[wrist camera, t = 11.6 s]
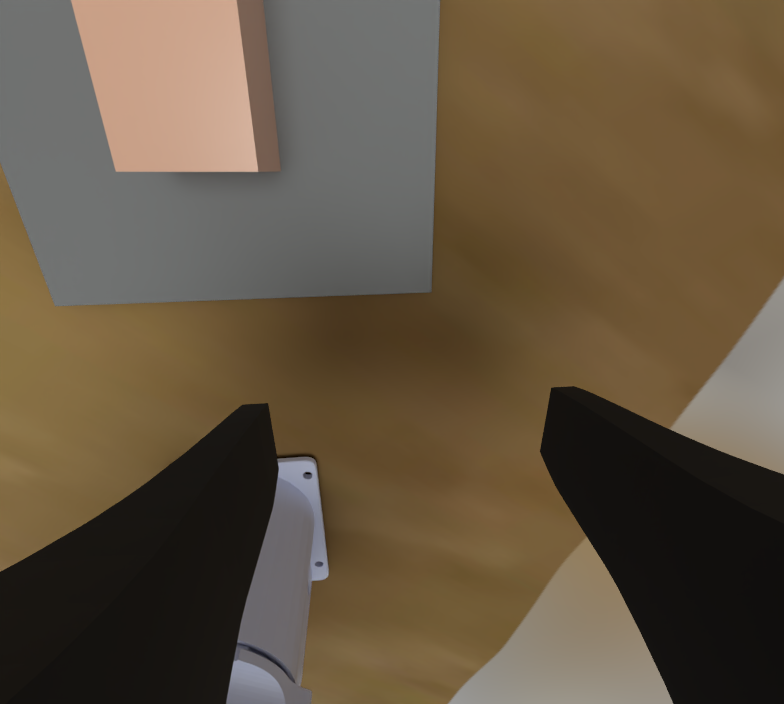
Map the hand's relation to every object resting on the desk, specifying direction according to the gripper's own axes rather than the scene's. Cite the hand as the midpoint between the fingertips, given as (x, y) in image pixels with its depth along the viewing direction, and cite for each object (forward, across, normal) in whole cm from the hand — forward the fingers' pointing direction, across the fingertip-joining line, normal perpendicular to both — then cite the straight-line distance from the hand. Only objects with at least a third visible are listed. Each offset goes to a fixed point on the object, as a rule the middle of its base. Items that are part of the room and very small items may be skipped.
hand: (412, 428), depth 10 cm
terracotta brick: (+9, +6, -9) cm, 14 cm away
